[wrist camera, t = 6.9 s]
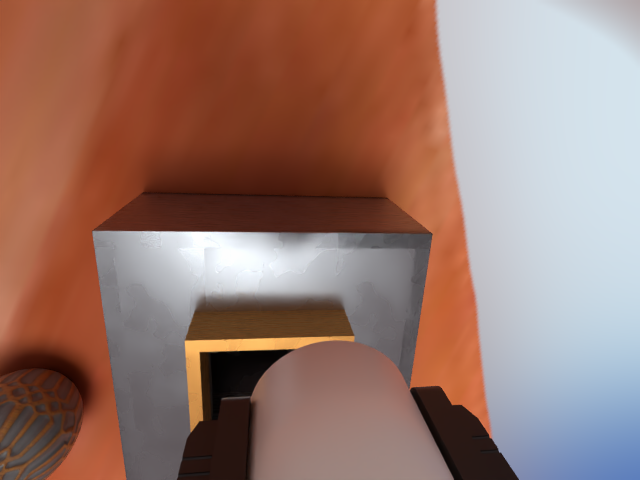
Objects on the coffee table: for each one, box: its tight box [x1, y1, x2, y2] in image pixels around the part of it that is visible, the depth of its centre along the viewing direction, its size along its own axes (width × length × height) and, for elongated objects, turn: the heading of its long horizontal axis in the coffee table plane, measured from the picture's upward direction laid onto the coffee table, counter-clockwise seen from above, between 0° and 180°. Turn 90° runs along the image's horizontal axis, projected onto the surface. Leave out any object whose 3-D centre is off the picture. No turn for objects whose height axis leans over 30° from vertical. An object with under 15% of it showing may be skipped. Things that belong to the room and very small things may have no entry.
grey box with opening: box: [92, 192, 432, 480], centre depth 25 cm, size 20×16×10 cm
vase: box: [0, 368, 83, 480], centre depth 25 cm, size 7×7×9 cm
